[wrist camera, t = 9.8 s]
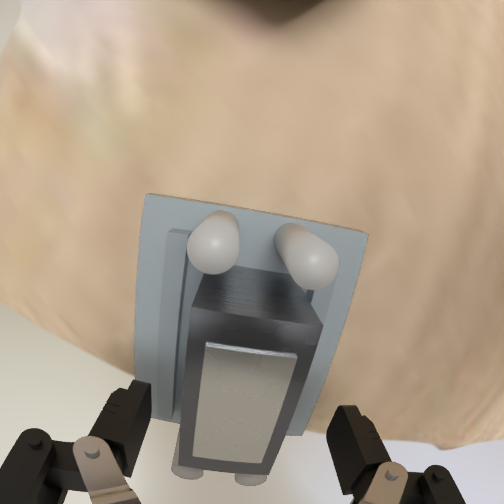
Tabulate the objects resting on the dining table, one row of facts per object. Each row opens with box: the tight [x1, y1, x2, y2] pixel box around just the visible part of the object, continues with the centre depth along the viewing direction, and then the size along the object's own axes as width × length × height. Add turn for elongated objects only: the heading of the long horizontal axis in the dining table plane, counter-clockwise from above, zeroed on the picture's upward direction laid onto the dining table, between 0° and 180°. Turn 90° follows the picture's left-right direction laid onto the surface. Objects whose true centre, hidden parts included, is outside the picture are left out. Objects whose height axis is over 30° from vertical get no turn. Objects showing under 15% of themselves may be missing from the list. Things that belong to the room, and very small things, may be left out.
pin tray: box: [135, 194, 369, 486], centre depth 15 cm, size 12×15×6 cm
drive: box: [178, 265, 323, 475], centre depth 13 cm, size 4×9×6 cm, turn 170°
